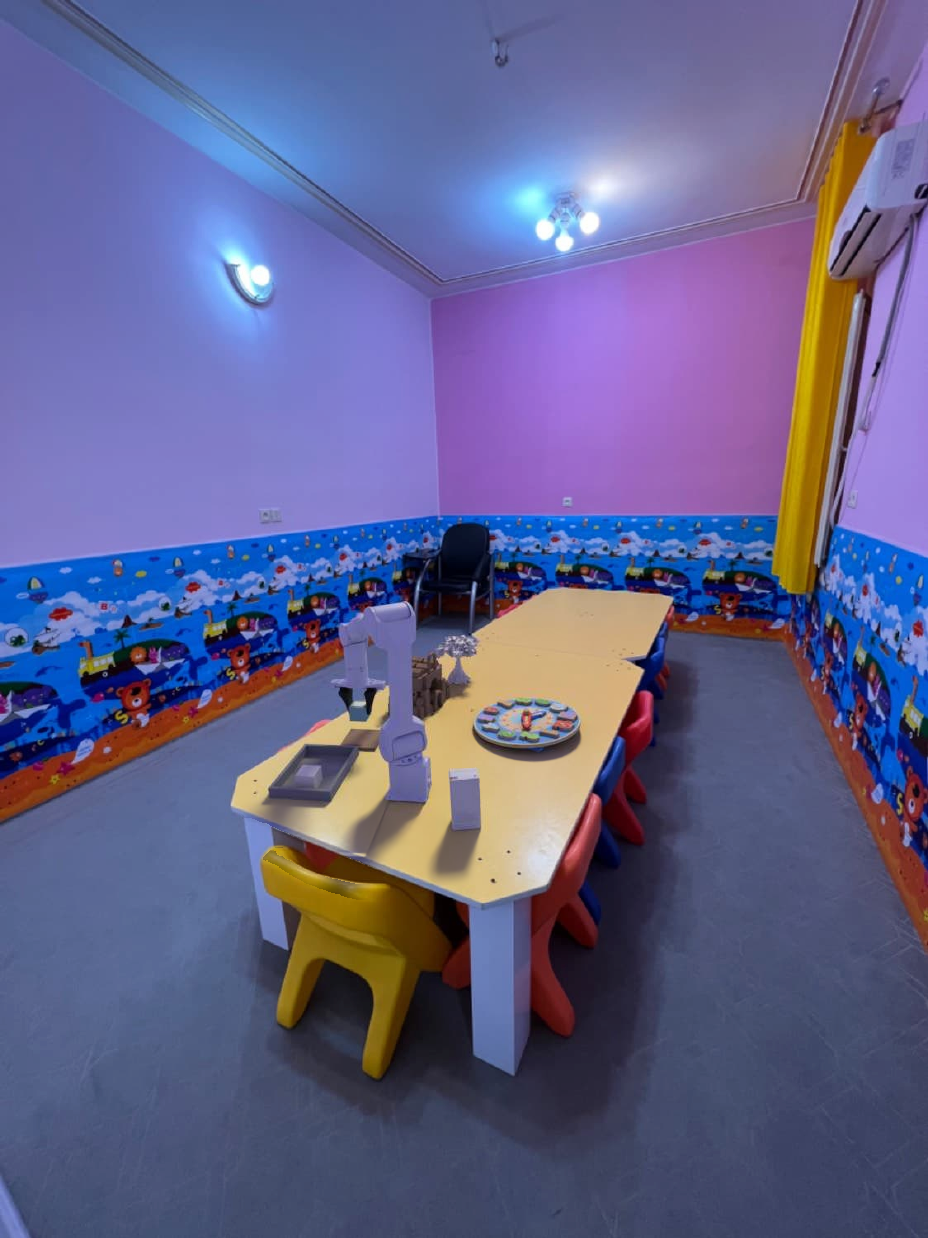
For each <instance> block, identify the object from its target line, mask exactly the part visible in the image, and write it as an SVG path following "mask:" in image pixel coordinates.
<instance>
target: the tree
mask: <svg viewBox="0 0 928 1238" xmlns="http://www.w3.org/2000/svg"><path fill="white" fill-rule="evenodd" d="M444 639H445V641H443V642H441V643H440V644H438V647H435V648H434V649H433V651H434V653H436V657H437V660H439V659H440V658H443V657H444V656H445V654H447V655H448V656H449V657H451V658H452V659H453V658H455V659H456V661H455V665H454V667H453V669H452V671H450V672H449V674H448V676H447V680H446V681H447V682H449V685H452V684H454V685H455V684H456V685H463V684H465V685H467V682H468V683H469V682H471V678H472V677H470V676H469V675H468V674H467V673H466V672H465V670H464V669H463V666H462V662H461V658H462V657H463V658H472V656H476V655H477V654H478V651H477V647H479V645H478V644H479V642H474V640H475V639H474V638H472V637H468V636H467V637H466V636H465V635H460V636H457V635H449V636H448V637H447V636H444Z"/></svg>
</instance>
